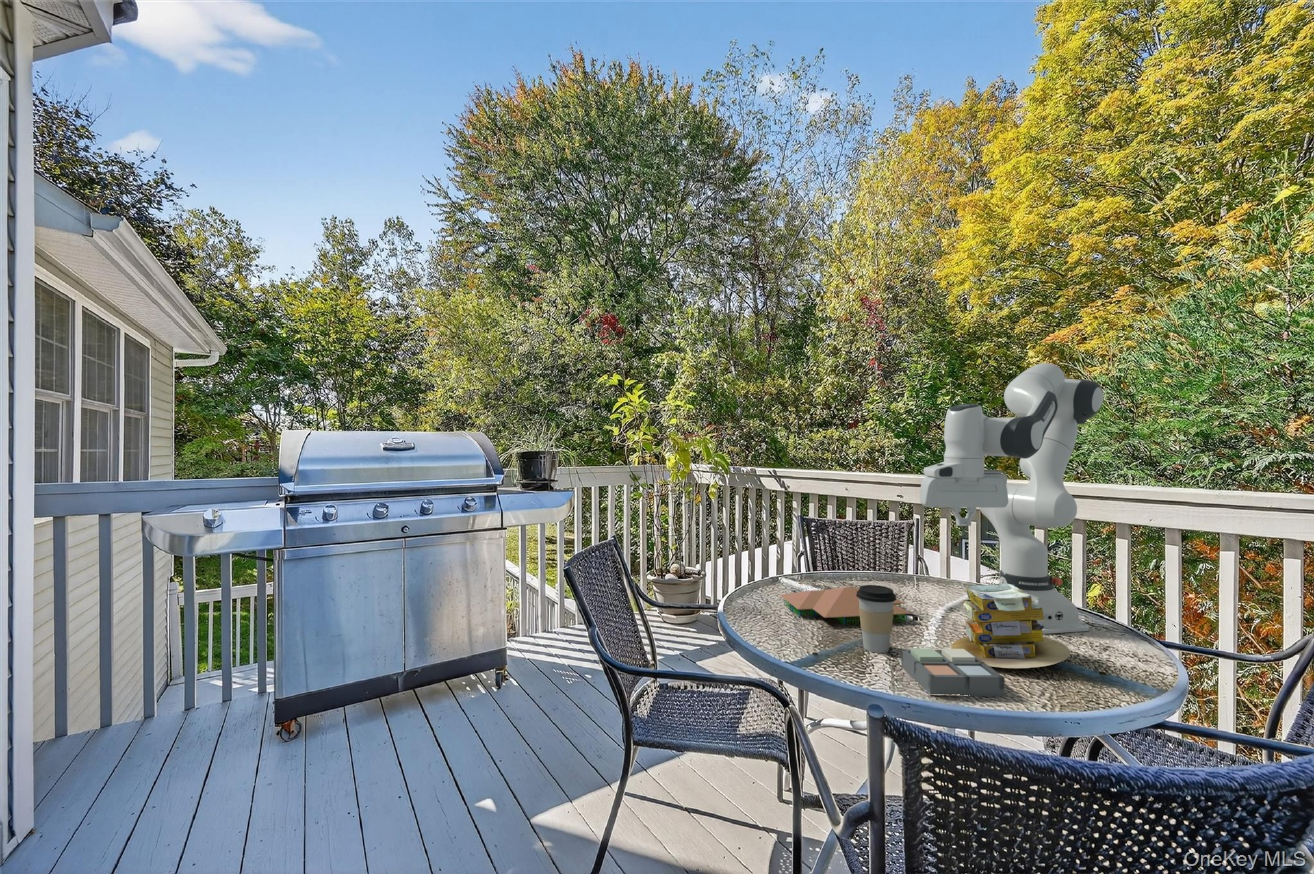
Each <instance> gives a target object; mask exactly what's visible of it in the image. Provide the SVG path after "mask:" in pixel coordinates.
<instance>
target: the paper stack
mask: <svg viewBox="0 0 1314 874" xmlns="http://www.w3.org/2000/svg"><path fill="white" fill-rule="evenodd" d="M1013 585H1014V584H1013ZM1013 585H1011V584H1007V583H1006V584H1002V585H1000V584H997V583H995V584H977V585H976V584H974V585H971V586H966V587H965V590H966V594H967V598H968V599H964V600H962V604H963V605H962V606H963V611H964V613H965V616H966V617H968V618H966V619H965V620H964V622H965V627H966V636H965V637H964V636H963V637H962V638H958V639H956V640H955V641H954V642H952V643H951V645H950V649H965V650H968V651H969V652H971V653H972V654H973V655H975V656H976V657H977V658H979V659H980V660H981V661H983V662H984V663H985V664H987V665H988V666H990V667H991V668H992V667H994V668H1003V669H1030V668H1040V667H1041V668H1042V667H1047V666H1051V665H1055V664H1058V663H1061V662H1063V661H1065V660H1067V659H1068V658H1069V657H1070V655H1071V650H1070V648H1069V647H1068V646H1067V645H1066V644H1063V643H1062V642H1059V641H1057V640H1055V639H1052V638H1048V637H1045V636H1044V634H1043V633H1042V629H1043V628H1044V626H1043V625H1042V626H1041V625H1040V624H1038V623H1037V622H1038V621H1037V620H1044V616H1043V610H1042V607H1040V606H1038V605H1037V604H1036V603H1035V602H1033V601H1032V598H1031V595H1029V594H1028V593H1027V592H1025V591H1022V589H1020V590H1019V588H1017V587H1015V586H1013ZM1023 592H1024V593H1026V594H1024V593H1023Z"/></svg>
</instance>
